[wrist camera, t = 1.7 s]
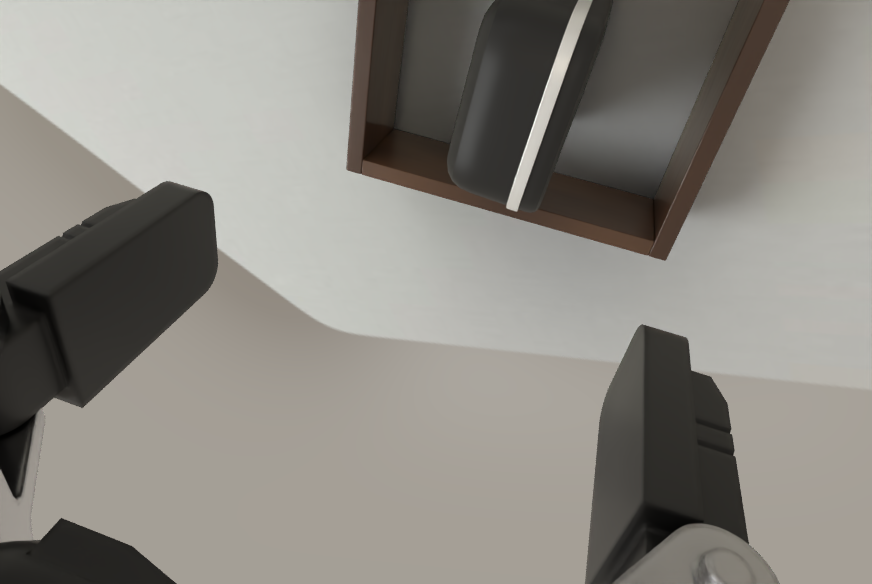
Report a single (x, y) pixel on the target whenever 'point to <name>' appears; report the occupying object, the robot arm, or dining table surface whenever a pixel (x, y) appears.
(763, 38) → the walnut box
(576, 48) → the battery charger
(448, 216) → the dining table surface
